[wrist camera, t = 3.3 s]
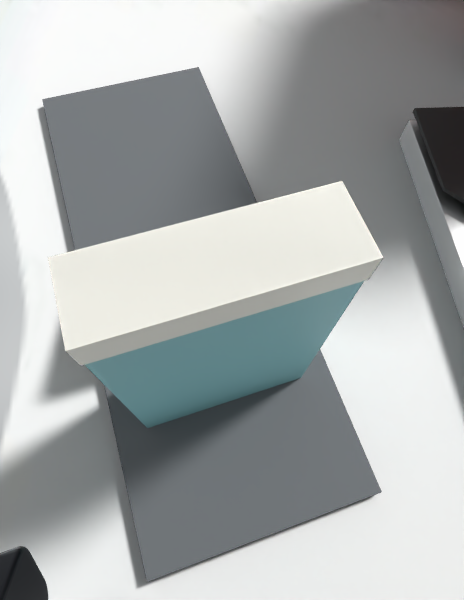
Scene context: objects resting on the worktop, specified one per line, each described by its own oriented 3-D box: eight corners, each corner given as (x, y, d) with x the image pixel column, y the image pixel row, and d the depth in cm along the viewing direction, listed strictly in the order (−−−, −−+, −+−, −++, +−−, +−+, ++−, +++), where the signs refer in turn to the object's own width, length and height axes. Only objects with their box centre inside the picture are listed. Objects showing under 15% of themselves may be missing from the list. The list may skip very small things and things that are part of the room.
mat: (378, 492, 17) (381, 492, 17) (148, 579, 16) (147, 581, 15) (198, 73, 26) (198, 67, 26) (44, 105, 25) (42, 99, 24)
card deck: (302, 378, 18) (383, 257, 9) (146, 429, 17) (65, 351, 8) (284, 333, 19) (342, 180, 10) (134, 379, 18) (47, 257, 9)
